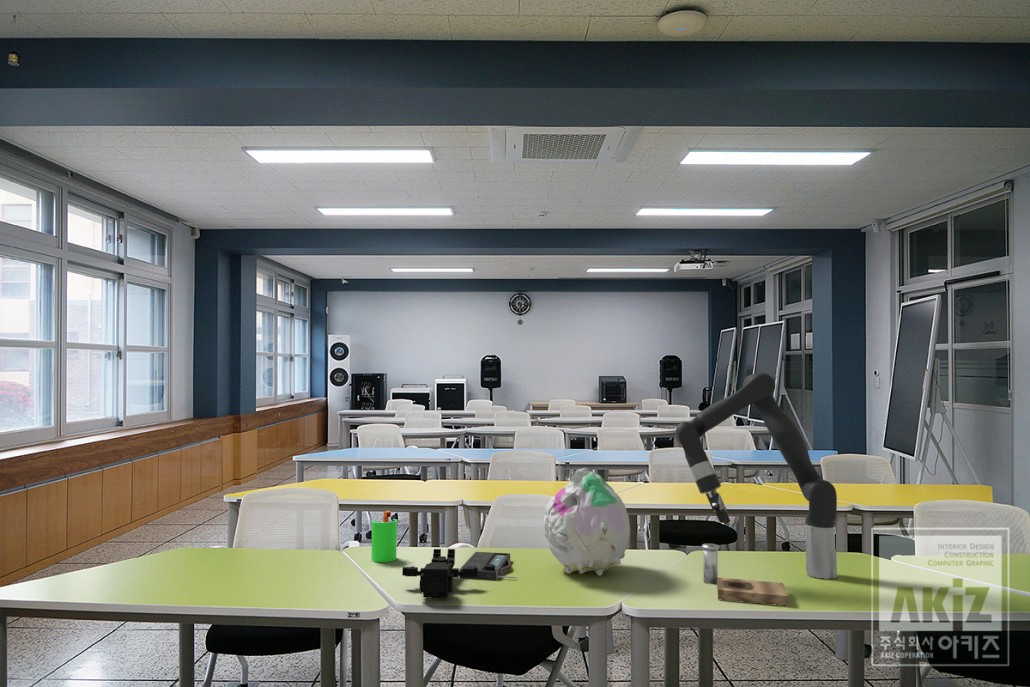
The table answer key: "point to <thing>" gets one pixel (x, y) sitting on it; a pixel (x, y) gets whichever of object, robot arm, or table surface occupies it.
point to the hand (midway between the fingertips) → (725, 522)
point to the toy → (439, 575)
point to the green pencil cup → (384, 539)
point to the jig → (752, 591)
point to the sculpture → (587, 524)
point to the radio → (489, 565)
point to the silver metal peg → (710, 562)
